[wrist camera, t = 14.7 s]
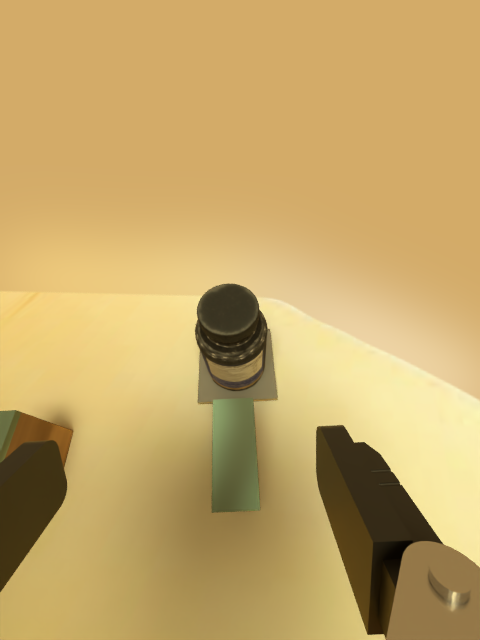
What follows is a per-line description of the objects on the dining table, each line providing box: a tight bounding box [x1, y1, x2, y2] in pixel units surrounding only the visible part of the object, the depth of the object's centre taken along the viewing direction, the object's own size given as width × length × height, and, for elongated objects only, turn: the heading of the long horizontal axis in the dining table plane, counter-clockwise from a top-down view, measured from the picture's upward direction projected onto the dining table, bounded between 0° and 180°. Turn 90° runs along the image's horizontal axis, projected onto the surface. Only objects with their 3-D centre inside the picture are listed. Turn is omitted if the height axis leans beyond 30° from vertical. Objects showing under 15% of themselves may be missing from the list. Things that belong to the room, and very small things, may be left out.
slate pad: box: [198, 329, 277, 404], centre depth 31 cm, size 8×8×1 cm
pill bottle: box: [195, 284, 268, 391], centre depth 26 cm, size 6×6×11 cm
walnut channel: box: [0, 398, 260, 513], centre depth 23 cm, size 21×7×8 cm, turn 93°
